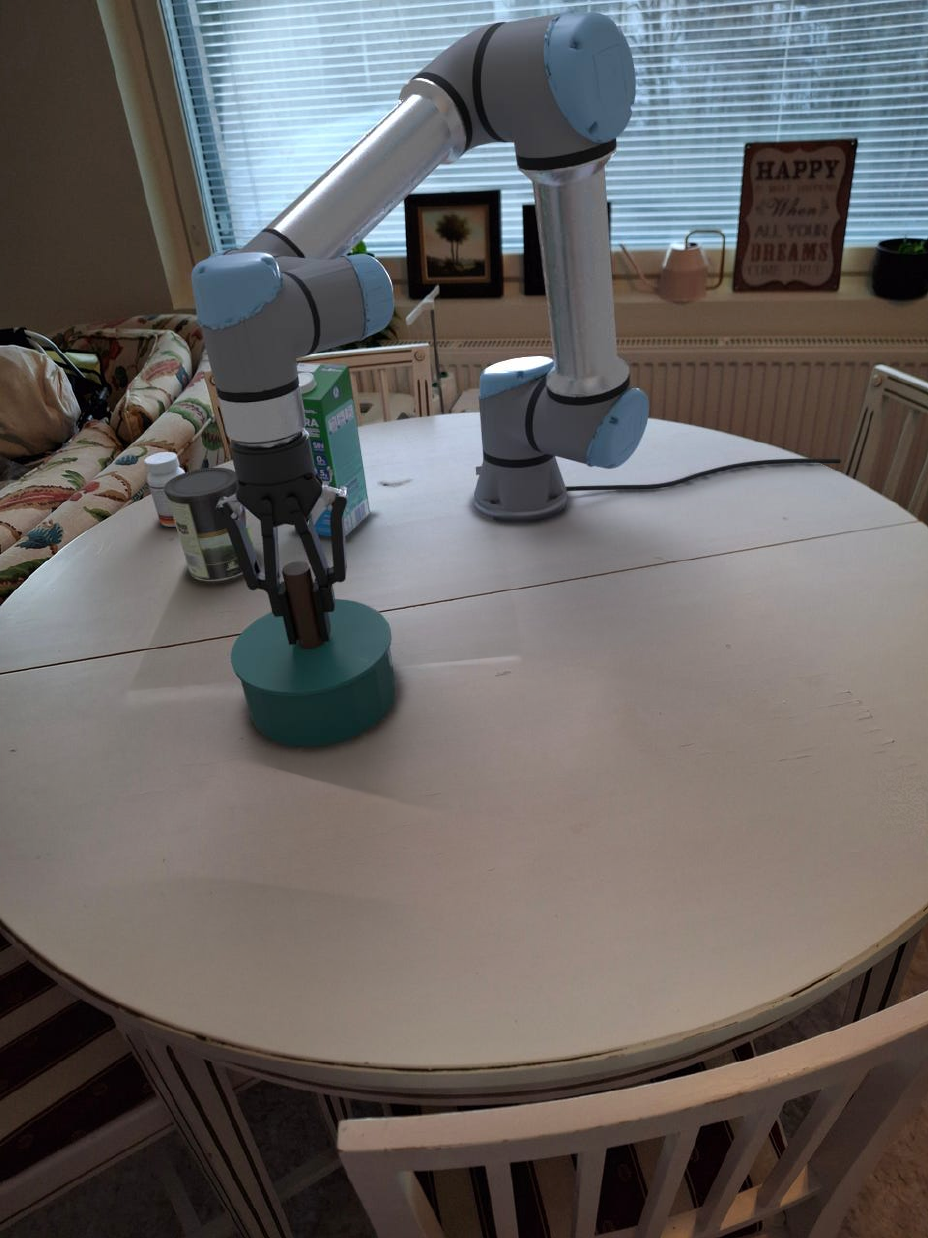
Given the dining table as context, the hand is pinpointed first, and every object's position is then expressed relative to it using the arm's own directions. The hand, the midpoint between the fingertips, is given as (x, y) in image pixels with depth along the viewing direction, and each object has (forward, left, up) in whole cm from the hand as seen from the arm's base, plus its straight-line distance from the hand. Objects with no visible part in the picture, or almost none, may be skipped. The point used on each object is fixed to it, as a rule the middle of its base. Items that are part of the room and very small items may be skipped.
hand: (310, 635), depth 89 cm
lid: (0, 0, -1) cm, 1 cm away
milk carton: (+2, -45, -9) cm, 46 cm away
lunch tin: (0, 0, -9) cm, 9 cm away
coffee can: (+18, -34, -9) cm, 40 cm away
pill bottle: (+29, -52, -9) cm, 60 cm away
